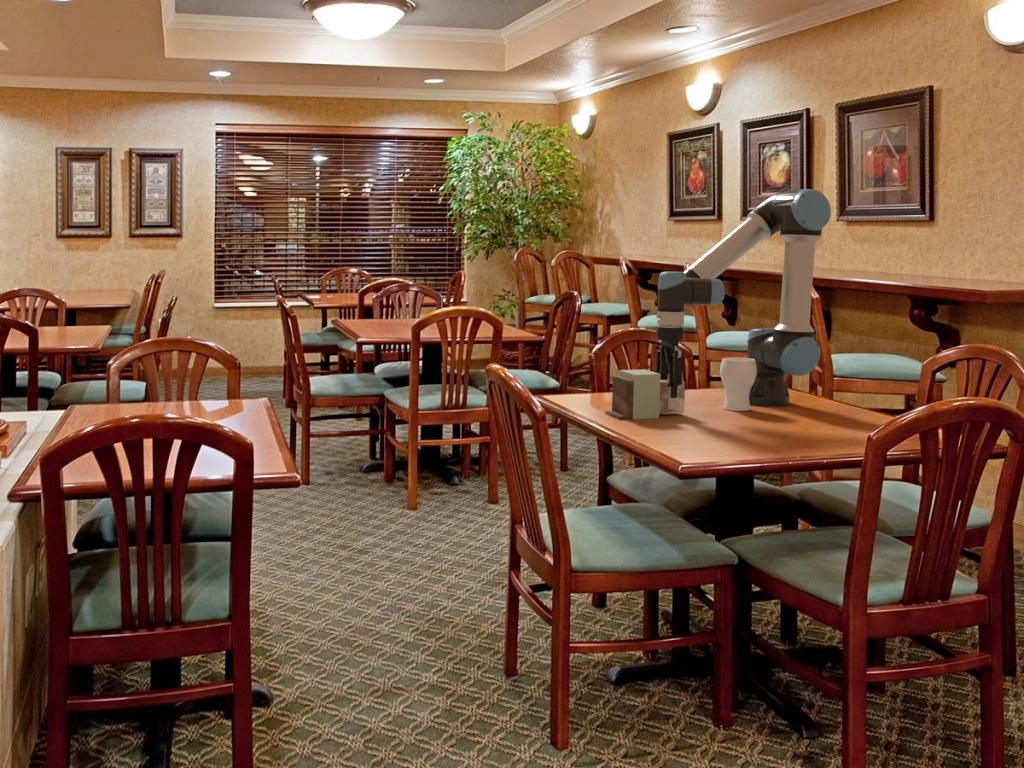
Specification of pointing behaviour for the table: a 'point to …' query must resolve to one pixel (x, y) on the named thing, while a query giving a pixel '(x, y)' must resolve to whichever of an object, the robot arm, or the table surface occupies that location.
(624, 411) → the wall
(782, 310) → the robot arm
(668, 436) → the table surface
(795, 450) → the table surface
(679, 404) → the peg
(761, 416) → the table surface
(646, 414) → the block
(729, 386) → the cup
